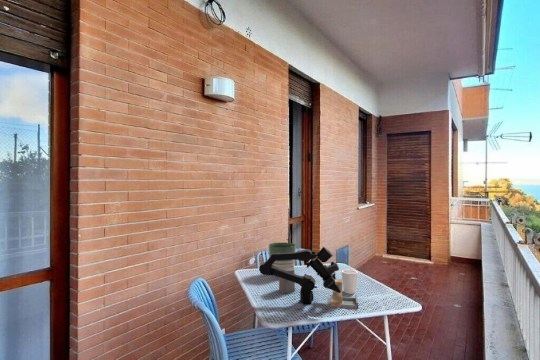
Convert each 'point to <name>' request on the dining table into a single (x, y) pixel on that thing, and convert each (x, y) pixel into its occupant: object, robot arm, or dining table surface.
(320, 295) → the dining table surface
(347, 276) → the foam cup
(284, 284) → the pillar candle
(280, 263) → the planter
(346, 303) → the tray
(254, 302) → the dining table surface
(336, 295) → the beech block
